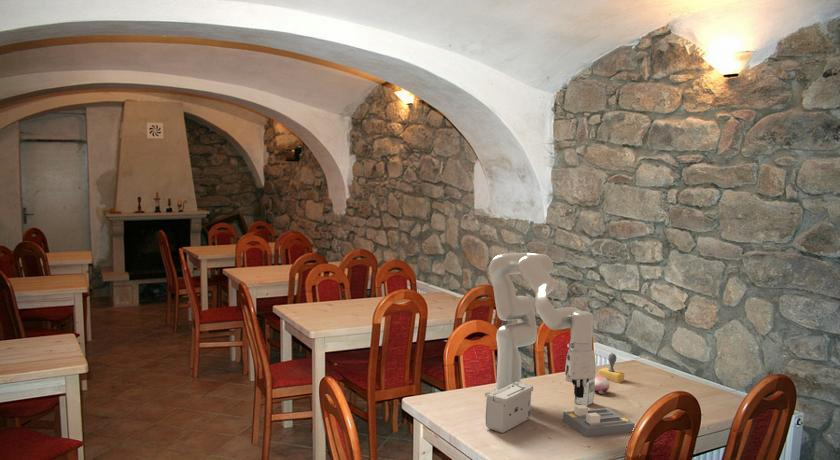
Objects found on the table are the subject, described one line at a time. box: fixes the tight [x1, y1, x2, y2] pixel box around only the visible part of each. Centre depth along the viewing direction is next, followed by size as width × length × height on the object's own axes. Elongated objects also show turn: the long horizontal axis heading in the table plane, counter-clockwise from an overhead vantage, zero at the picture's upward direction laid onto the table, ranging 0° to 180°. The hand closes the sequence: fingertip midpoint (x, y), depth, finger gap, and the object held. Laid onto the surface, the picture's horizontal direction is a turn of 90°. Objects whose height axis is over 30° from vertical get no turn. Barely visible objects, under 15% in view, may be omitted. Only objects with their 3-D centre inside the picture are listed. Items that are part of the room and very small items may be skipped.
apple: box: [594, 374, 610, 395], centre depth 280 cm, size 8×8×7 cm
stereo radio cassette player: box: [485, 378, 534, 434], centre depth 241 cm, size 21×8×20 cm, turn 141°
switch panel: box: [562, 407, 635, 438], centre depth 243 cm, size 20×16×4 cm
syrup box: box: [574, 376, 596, 407], centre depth 266 cm, size 6×6×14 cm
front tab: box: [586, 413, 600, 424], centre depth 238 cm, size 4×3×3 cm
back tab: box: [573, 404, 589, 416], centre depth 245 cm, size 4×3×3 cm
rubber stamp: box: [598, 353, 625, 384], centre depth 299 cm, size 10×6×12 cm, turn 44°
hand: (578, 396), depth 234 cm, fingers closed
